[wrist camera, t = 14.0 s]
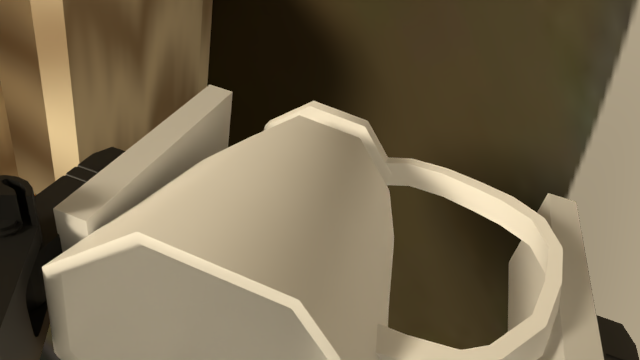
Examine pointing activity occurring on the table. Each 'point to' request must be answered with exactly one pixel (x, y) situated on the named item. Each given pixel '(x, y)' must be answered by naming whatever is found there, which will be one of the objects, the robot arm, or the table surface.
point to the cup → (275, 256)
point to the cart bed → (93, 77)
